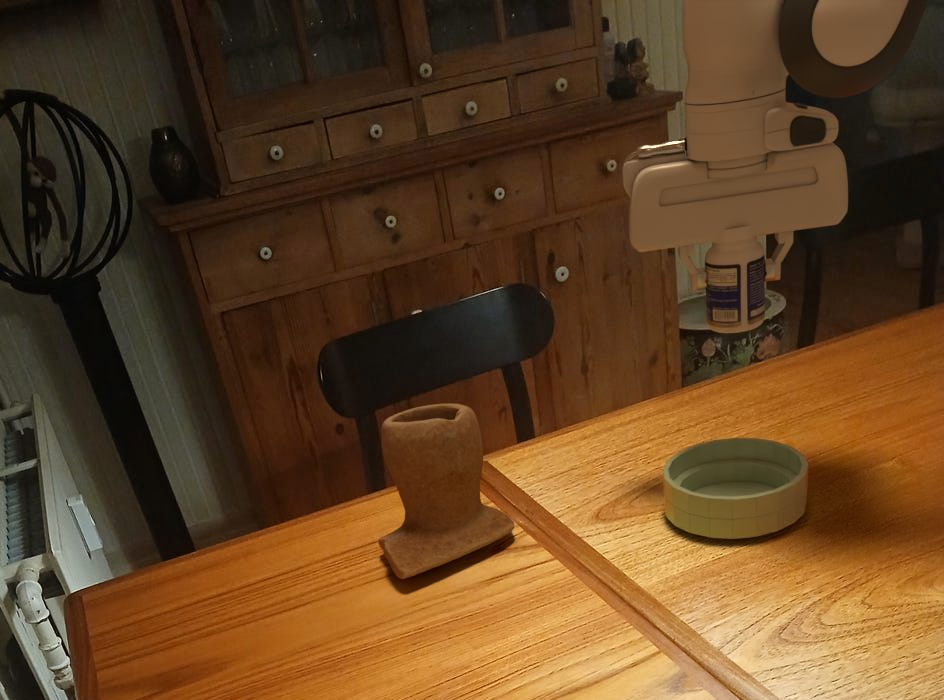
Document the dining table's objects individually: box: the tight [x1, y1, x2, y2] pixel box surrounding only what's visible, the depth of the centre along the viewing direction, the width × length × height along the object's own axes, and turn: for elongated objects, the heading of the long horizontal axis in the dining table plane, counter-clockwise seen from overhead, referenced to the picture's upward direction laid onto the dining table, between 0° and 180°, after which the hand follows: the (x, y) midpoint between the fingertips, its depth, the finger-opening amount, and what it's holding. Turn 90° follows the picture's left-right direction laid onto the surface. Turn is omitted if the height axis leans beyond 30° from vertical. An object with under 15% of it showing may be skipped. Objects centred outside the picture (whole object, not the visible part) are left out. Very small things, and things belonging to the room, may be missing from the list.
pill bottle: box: [704, 225, 766, 334], centre depth 98 cm, size 6×6×10 cm
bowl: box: [662, 437, 809, 540], centre depth 102 cm, size 14×14×5 cm
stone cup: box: [377, 403, 515, 580], centre depth 102 cm, size 15×12×15 cm
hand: (735, 284), depth 98 cm, fingers closed on pill bottle, 6 cm apart
